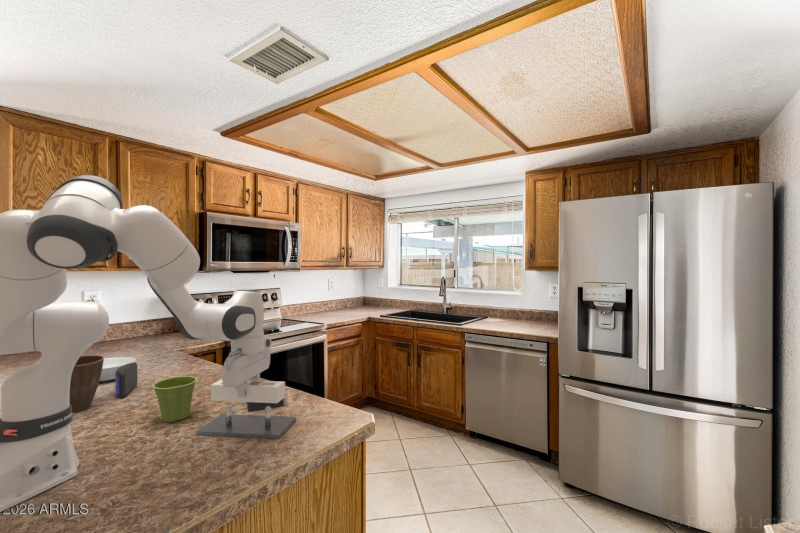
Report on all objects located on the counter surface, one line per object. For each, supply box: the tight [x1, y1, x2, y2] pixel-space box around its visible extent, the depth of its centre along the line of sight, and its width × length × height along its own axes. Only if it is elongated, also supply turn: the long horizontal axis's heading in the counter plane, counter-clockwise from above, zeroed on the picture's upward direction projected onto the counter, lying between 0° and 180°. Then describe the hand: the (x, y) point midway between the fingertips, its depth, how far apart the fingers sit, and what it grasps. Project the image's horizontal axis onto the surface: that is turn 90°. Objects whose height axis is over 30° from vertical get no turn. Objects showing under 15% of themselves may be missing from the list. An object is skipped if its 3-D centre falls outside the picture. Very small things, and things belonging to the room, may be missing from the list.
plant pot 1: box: [70, 354, 105, 414], centre depth 121 cm, size 15×15×16 cm
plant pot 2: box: [151, 375, 198, 423], centre depth 114 cm, size 12×12×11 cm
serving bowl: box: [99, 356, 137, 383], centre depth 154 cm, size 21×21×7 cm
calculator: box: [246, 398, 284, 413], centre depth 128 cm, size 11×4×15 cm
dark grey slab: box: [114, 362, 138, 399], centre depth 138 cm, size 16×5×9 cm, turn 22°
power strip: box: [210, 379, 286, 403], centre depth 107 cm, size 5×20×5 cm, turn 83°
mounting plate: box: [195, 404, 297, 440], centre depth 107 cm, size 12×24×6 cm, turn 84°
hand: (248, 393), depth 107 cm, fingers closed on power strip, 5 cm apart
